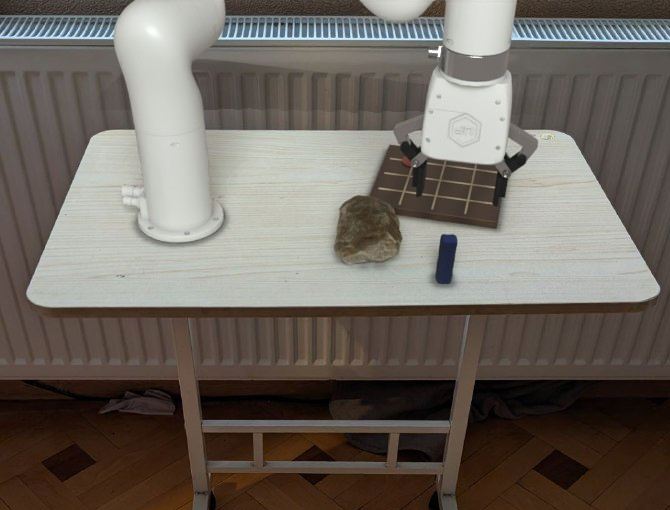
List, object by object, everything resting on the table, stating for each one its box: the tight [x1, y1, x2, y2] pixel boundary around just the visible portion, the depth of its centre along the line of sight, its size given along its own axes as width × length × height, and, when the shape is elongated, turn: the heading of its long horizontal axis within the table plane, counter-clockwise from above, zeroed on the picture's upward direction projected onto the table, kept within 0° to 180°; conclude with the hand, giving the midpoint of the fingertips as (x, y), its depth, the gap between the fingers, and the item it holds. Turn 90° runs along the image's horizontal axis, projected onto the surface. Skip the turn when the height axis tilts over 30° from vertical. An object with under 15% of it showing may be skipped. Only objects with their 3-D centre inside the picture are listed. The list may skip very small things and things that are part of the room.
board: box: [368, 144, 503, 230], centre depth 132 cm, size 20×20×1 cm
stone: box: [333, 194, 403, 266], centre depth 118 cm, size 13×8×8 cm
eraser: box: [435, 233, 458, 285], centre depth 112 cm, size 2×2×7 cm
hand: (457, 196), depth 105 cm, fingers open, 9 cm apart
